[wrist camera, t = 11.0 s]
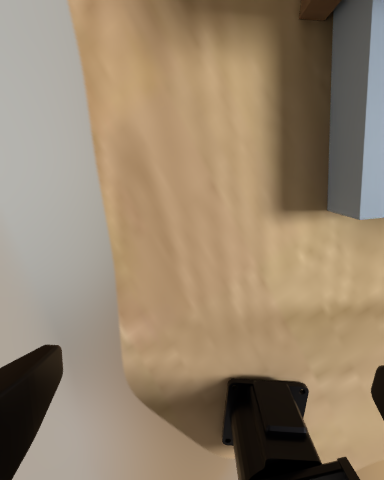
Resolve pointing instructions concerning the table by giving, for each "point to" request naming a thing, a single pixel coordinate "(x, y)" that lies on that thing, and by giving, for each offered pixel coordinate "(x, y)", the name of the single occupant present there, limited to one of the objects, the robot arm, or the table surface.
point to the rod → (357, 110)
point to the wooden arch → (317, 9)
